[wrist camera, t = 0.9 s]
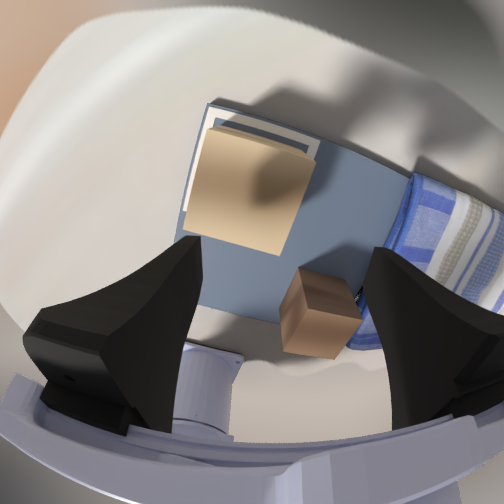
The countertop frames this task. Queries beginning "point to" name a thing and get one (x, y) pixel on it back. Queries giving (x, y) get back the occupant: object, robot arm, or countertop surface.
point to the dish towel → (444, 248)
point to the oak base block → (247, 189)
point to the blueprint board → (299, 222)
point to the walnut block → (317, 315)
